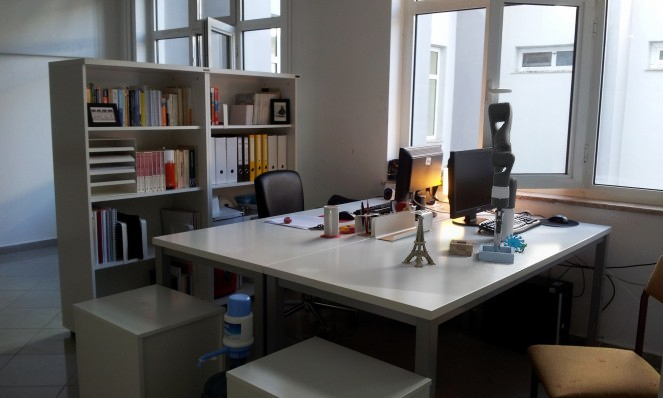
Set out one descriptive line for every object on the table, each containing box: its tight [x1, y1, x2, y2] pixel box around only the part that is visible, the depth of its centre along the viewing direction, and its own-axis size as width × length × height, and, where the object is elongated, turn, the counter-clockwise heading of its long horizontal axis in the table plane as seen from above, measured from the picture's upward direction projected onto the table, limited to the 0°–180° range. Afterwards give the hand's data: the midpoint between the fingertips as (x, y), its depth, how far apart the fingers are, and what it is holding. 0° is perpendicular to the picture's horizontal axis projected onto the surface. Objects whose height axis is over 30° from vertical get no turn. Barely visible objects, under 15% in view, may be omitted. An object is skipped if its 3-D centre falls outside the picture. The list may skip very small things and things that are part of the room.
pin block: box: [448, 239, 474, 257], centre depth 269 cm, size 10×10×5 cm
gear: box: [502, 233, 528, 253], centre depth 277 cm, size 11×6×10 cm
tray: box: [478, 244, 515, 264], centre depth 260 cm, size 15×15×4 cm
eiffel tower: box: [401, 214, 437, 269], centre depth 246 cm, size 11×11×25 cm
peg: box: [493, 228, 502, 253], centre depth 260 cm, size 3×3×12 cm
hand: (498, 231), depth 259 cm, fingers open, 8 cm apart
